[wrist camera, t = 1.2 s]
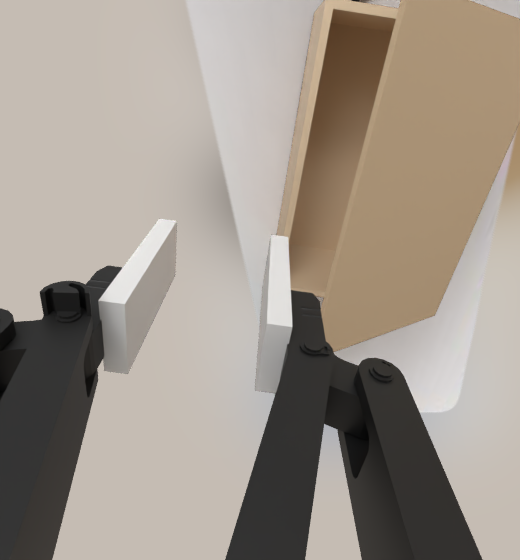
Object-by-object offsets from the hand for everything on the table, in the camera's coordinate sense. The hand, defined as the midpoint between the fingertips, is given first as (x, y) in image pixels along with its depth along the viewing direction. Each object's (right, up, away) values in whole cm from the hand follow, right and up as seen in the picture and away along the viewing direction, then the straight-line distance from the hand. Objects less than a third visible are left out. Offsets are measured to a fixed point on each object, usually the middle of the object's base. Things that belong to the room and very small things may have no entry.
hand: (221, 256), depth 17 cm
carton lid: (+14, +4, +12) cm, 19 cm away
